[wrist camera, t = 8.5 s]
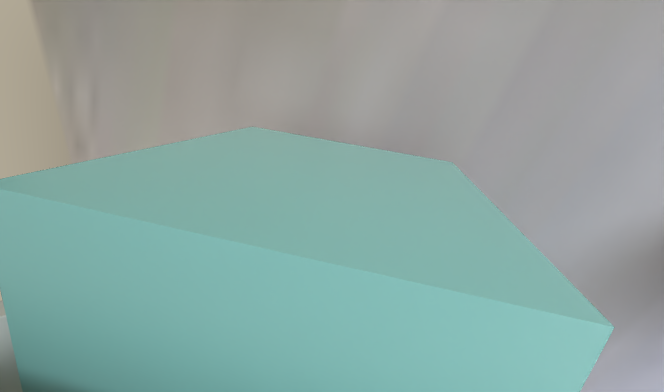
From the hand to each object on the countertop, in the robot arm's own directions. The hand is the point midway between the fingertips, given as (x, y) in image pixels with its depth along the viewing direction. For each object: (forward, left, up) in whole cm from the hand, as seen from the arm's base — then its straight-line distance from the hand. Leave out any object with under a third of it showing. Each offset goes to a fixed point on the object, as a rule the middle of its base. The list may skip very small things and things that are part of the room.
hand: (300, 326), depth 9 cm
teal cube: (-1, 0, -5) cm, 5 cm away
